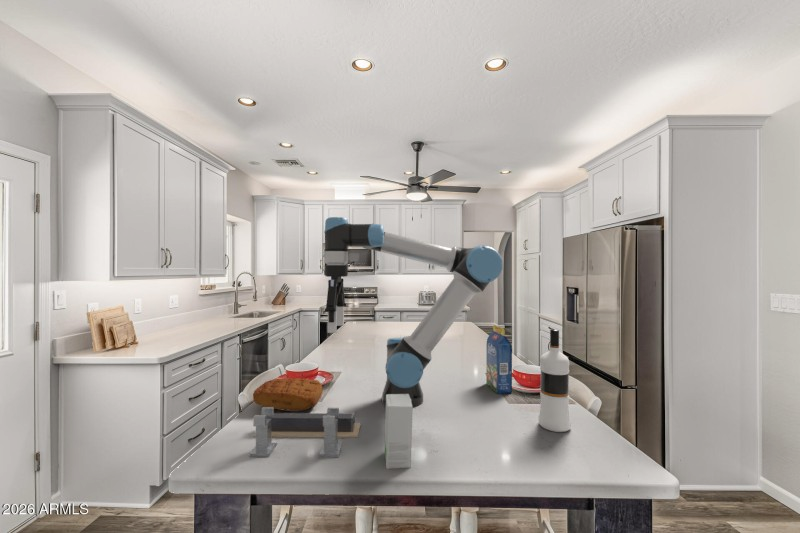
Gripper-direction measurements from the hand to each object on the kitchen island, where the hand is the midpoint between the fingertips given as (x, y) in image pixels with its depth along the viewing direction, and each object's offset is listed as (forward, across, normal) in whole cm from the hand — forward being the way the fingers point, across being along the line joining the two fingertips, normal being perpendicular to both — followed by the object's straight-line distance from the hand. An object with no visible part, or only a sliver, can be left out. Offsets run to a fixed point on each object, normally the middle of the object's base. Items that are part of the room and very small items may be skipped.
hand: (336, 328), depth 119 cm
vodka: (+29, +7, +69) cm, 75 cm away
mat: (+29, +11, -6) cm, 31 cm away
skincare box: (+29, +27, +21) cm, 45 cm away
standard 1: (+29, +23, -15) cm, 40 cm away
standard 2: (+29, +23, +3) cm, 37 cm away
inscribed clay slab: (+29, -9, -18) cm, 35 cm away
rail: (+28, +11, -6) cm, 31 cm away
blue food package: (+29, -28, +61) cm, 73 cm away
